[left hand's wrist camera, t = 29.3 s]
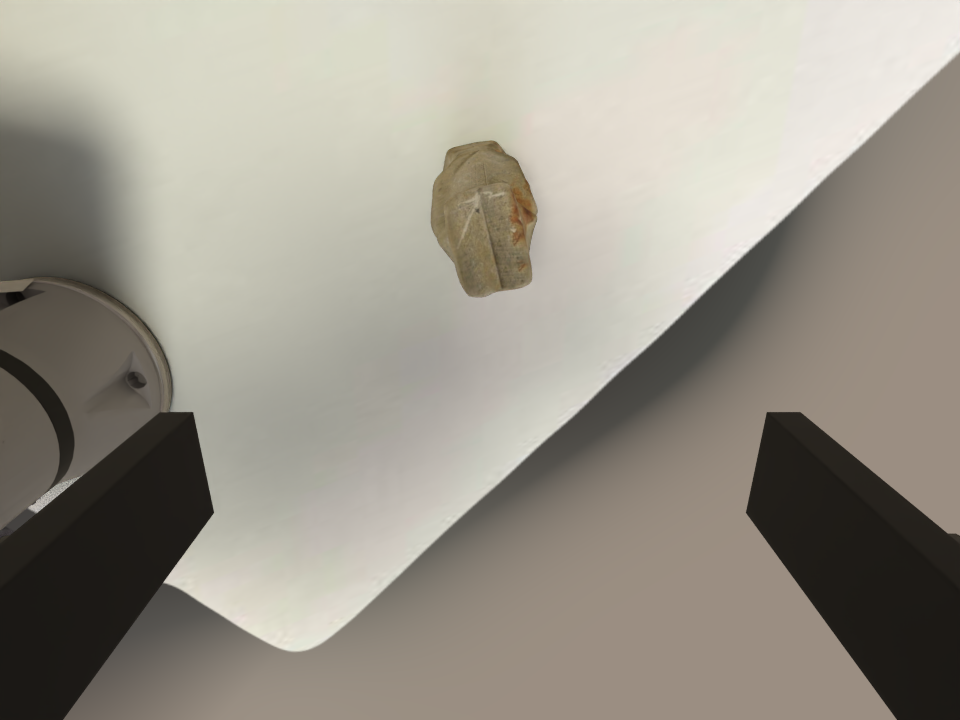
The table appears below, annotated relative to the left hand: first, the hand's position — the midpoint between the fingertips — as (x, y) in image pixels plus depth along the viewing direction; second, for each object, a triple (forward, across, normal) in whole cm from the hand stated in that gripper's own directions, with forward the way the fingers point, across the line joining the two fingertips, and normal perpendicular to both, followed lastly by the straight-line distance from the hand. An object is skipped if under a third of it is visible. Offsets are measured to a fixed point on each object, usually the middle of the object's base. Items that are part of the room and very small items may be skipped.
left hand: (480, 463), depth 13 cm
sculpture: (+29, 0, -4) cm, 29 cm away
